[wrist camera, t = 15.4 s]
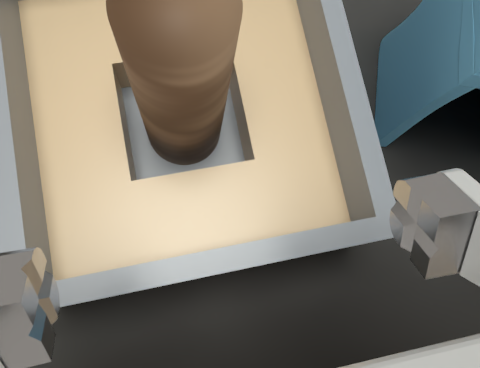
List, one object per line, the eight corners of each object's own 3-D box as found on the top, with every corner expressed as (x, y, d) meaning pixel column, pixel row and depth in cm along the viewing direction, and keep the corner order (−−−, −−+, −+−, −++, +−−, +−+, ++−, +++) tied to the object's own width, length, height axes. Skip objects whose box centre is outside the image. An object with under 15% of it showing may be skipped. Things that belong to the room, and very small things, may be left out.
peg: (212, 91, 26) (228, -64, 14) (226, 158, 25) (255, 56, 13) (142, 102, 25) (96, -49, 13) (154, 170, 24) (116, 75, 13)
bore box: (287, -5, 28) (317, -93, 22) (347, 245, 26) (404, 235, 19) (24, 28, 26) (-36, -59, 19) (60, 305, 23) (5, 318, 17)
